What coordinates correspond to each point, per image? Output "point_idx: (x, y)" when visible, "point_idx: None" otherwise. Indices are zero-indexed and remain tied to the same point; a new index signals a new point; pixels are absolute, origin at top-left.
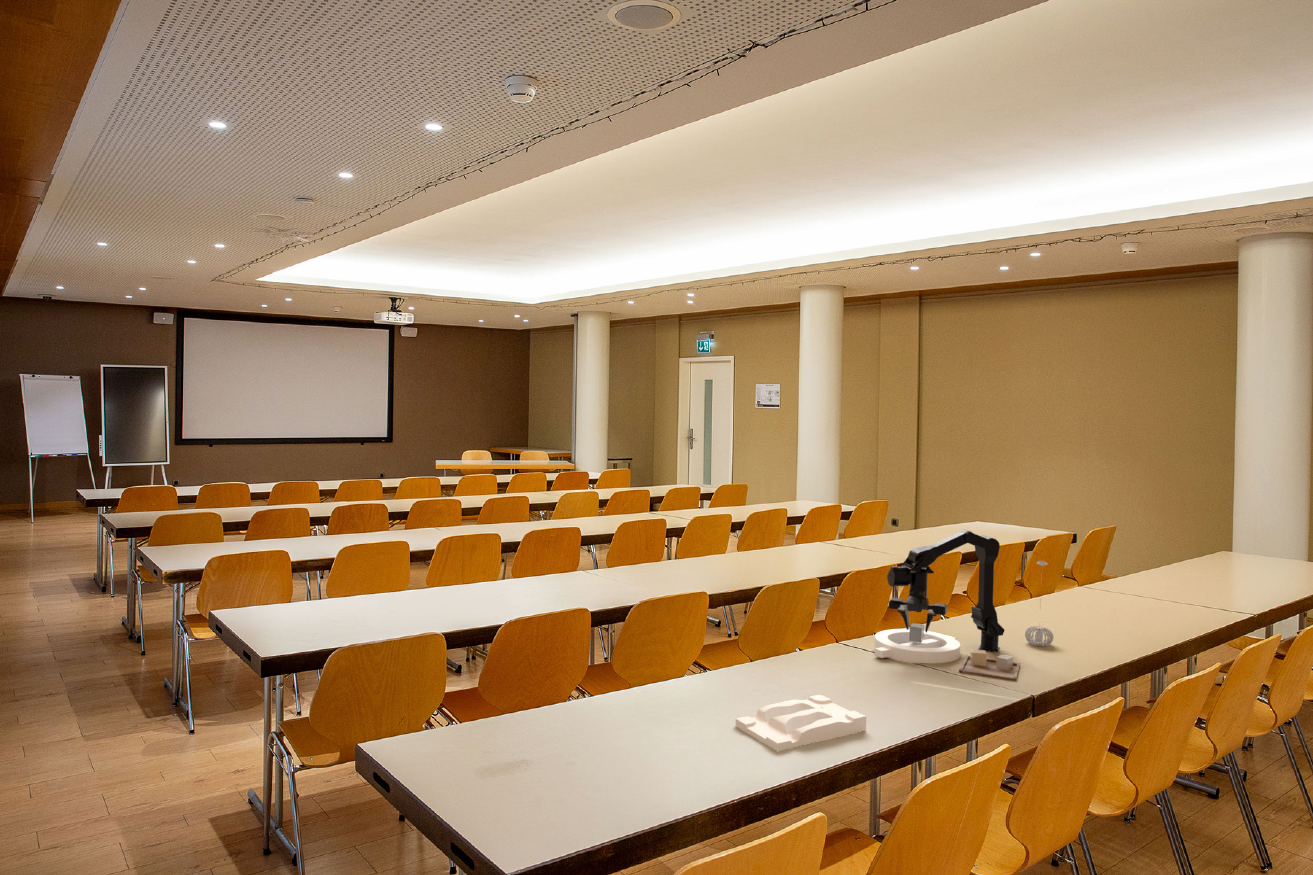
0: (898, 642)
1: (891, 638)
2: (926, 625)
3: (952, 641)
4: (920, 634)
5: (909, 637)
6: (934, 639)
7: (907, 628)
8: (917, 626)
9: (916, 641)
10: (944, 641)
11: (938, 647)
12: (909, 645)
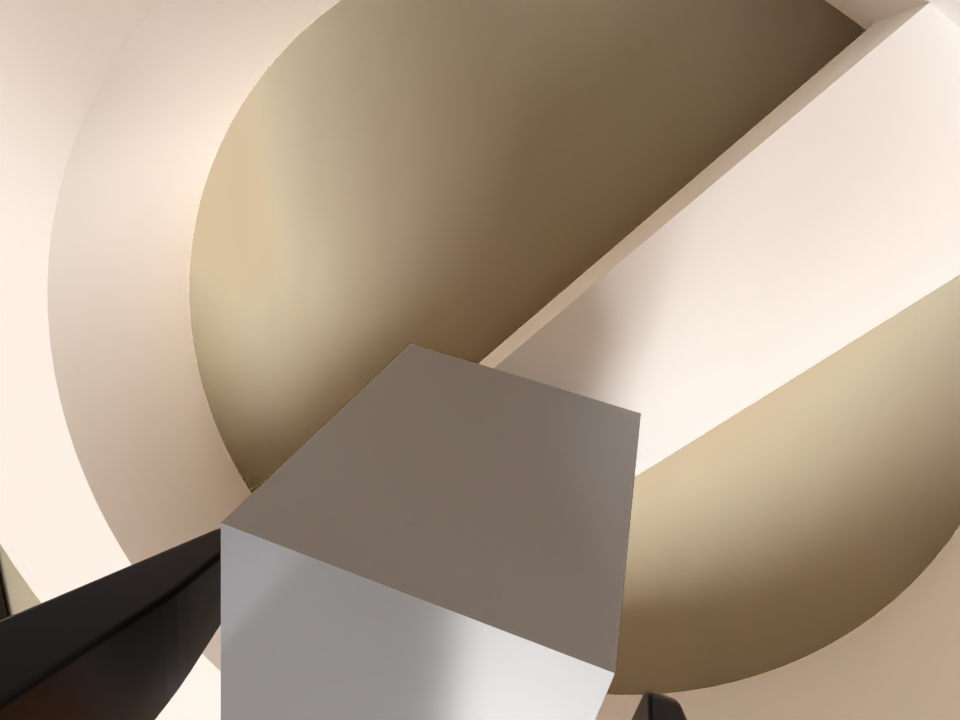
0: (736, 700)
1: (893, 717)
2: (74, 636)
3: (29, 494)
4: (358, 426)
5: (633, 445)
6: None
7: (664, 718)
8: (359, 667)
9: (495, 371)
10: (139, 533)
11: (101, 81)
12: (647, 290)
